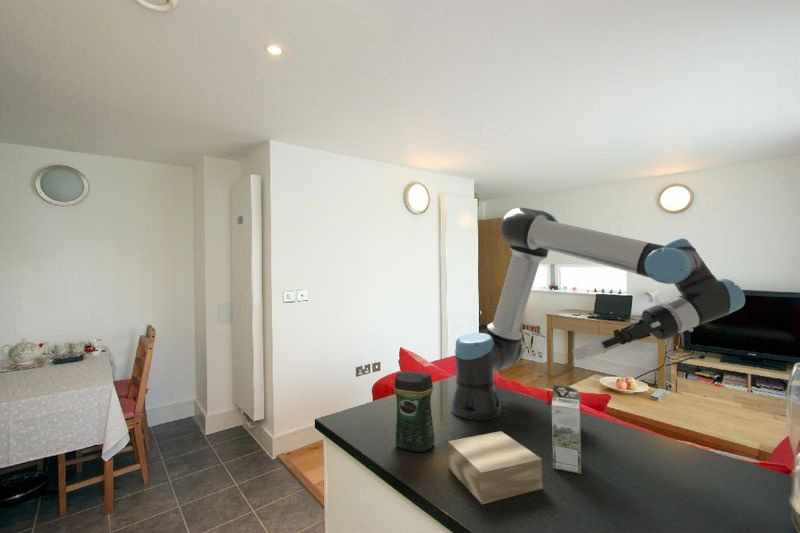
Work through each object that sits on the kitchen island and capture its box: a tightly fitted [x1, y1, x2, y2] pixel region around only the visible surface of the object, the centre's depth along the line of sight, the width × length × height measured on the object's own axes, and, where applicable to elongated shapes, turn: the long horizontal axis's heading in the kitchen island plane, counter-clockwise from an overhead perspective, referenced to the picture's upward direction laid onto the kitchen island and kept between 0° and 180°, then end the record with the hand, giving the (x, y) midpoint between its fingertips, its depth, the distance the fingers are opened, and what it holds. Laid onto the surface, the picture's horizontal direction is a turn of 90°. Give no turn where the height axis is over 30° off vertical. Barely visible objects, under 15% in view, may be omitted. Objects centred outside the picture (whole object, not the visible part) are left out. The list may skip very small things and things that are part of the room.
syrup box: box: [551, 396, 582, 475], centre depth 84 cm, size 6×6×14 cm
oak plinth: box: [447, 430, 543, 505], centre depth 80 cm, size 14×14×6 cm
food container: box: [552, 383, 582, 404], centre depth 105 cm, size 12×6×10 cm, turn 168°
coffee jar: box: [393, 370, 435, 453], centre depth 96 cm, size 10×8×19 cm
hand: (580, 353), depth 89 cm, fingers open, 13 cm apart
